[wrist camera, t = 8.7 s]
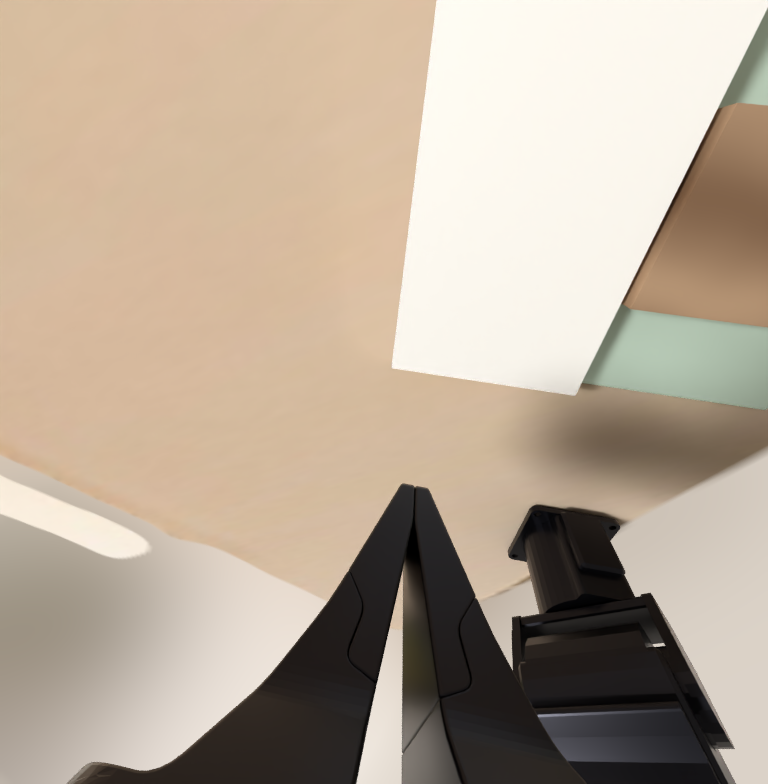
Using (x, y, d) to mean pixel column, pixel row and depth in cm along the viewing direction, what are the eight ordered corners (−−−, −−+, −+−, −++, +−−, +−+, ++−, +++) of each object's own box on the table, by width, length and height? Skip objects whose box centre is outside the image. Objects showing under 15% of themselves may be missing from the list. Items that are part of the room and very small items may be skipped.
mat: (761, 407, 18) (765, 410, 18) (566, 378, 19) (568, 380, 19) (1143, -25, 10) (1162, -31, 9) (763, -48, 10) (771, -54, 10)
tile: (758, 316, 16) (797, 331, 14) (610, 296, 16) (630, 309, 14) (895, 133, 12) (970, 124, 10) (696, 114, 12) (737, 102, 11)
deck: (562, 377, 19) (575, 395, 17) (395, 353, 20) (391, 368, 18) (756, -48, 10) (818, -95, 9) (448, -67, 11) (451, -114, 9)
